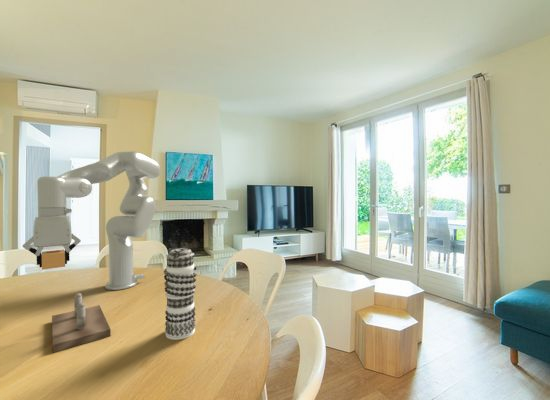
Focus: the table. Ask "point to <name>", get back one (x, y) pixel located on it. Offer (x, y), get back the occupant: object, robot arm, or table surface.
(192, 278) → the decorative candle
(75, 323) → the post board
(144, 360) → the table surface
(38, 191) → the robot arm
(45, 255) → the collar
